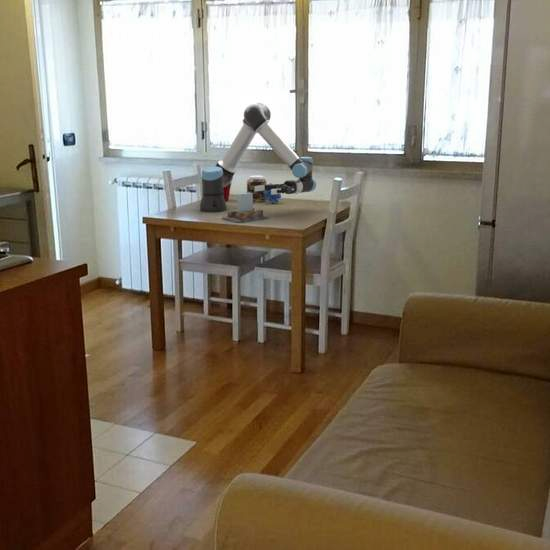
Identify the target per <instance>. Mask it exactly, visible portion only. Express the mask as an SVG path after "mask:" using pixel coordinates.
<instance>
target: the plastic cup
mask: <svg viewBox="0 0 550 550" xmlns="http://www.w3.org/2000/svg"><path fill="white" fill-rule="evenodd" d="M232 184H233V181H231V183H230V184H229V185H228V186H226V187H223V197H224V199H225V202H228V201H229V199H230V192H231V187H232Z"/></svg>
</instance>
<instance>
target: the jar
mask: <svg viewBox="0 0 550 550" xmlns="http://www.w3.org/2000/svg"><path fill="white" fill-rule="evenodd" d="M262 184H263V185H266V184H267V180H266V179H265V178H264V175H259V174H258V175H249V178H248V179H247V181H246V193H253V202H260V203H265V202H264V201H266V202H267V200H266V196H265V195H264V191H266V190H264V191H254V187H255V186H261V185H262Z"/></svg>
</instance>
